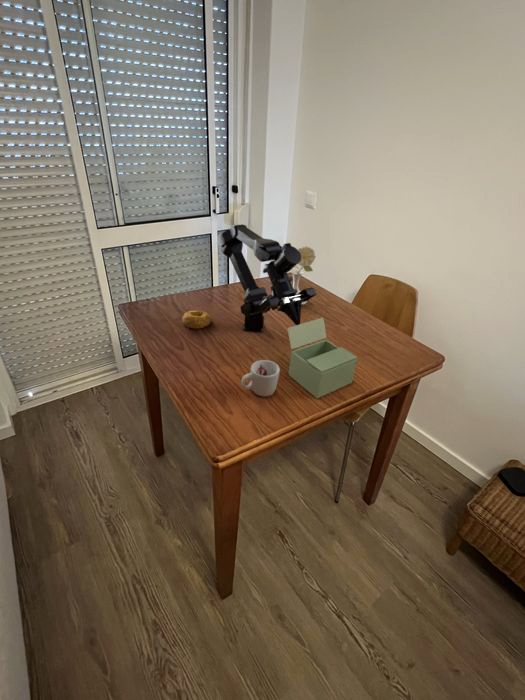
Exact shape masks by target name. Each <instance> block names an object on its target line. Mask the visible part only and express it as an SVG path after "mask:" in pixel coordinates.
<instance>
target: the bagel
mask: <svg viewBox="0 0 525 700" xmlns="http://www.w3.org/2000/svg"><path fill="white" fill-rule="evenodd" d="M181 320H182V323H183V324H184V325H185V326H186V327H187V328H190V329H195V330H197V329H198V330H199V329H204V328H206V327H208V326H209V325H210V324H211V323H212V322H213V317H211V315H209V313H208V312H206V311H205V310H189V311H187V312H185V313H184V314H183V315H182V319H181Z"/></svg>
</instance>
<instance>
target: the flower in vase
mask: <svg viewBox="0 0 525 700" xmlns="http://www.w3.org/2000/svg"><path fill="white" fill-rule="evenodd" d="M297 250H298V251H299V252H300V253H301V261H300V262H299V263H298V264H297V265H298V266H301V268H299V267H298V266H297V265H296V266H295V268H297V269H292V270H290V273H291V275H292V279H293V280H292V286H293V288H294V289H297V291H298V292H297V293H296V294H298V293H299V292H301V291H302V290H300V288H299V282H300V279H301V277H302V275H303V274H304V272H306V273H307V272H308V273H309V272H313V271H314V270H313V268H312V267H311V265H313V263H314V262H315V260H316V253H315V250H314V249H313V248H311V246H310V247H309V246H307V245H306V246H302V247H301V248H299V247H298V249H297ZM302 269H304V271H302ZM291 299H292V298H291ZM307 302H308V301H306V302H302V305H301V306H304V305H306V303H307Z"/></svg>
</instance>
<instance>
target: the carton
mask: <svg viewBox="0 0 525 700" xmlns="http://www.w3.org/2000/svg"><path fill="white" fill-rule="evenodd" d="M357 361H358V356H356V355H355V354H353V353H352V352H350V351H349V350H347V349H346V348H344V347H342V346H340V347H338V346H337V345H335V344H334V343H332V342H331V341H329V340H327V339H322V340H319V341H316V342H313V343H310V344H307V345H304V346H302V347H299V348H296V349H293V350H291V351H290V359H289V366H288V376H289V377H290V378H292V379H293V380H294V381H295V382H296V383H298V384H299V385H300V386H301V387H302V388H304V389H305V390H306V391H307V392H308V393H310V394H311V395H312V396H313V397H314V398H316V399H320V398H322V397H324V396H326V395H329V394H331V393H332V392H334V391H337V390H339V389H341V388H343V387H345V386H348V385H351V384H352V383H353V379H354V374H355V371H356V366H357Z"/></svg>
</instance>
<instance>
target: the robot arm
mask: <svg viewBox="0 0 525 700" xmlns="http://www.w3.org/2000/svg"><path fill="white" fill-rule="evenodd" d="M216 241H217V243H216V244H217V246H218V247H219V249H220V252H221V253H222V254H223V255H224V256H225V257H227V258H228V259H229V260H230V262H231V265H232V266H233V269H234V270H235V274H236V275H237V278H238V280H239V282H240V284H241V286H242V289H243V292H244V296H243V304H242V305H240V312H241V314H243V316H244V326H243V331H247V332H256V333H261V332H262V330H263V329H264V326H265V315H264V314H267V313H269V312H270V311H275V310H276V311H277V312H282V313H283V314H286V316H287V317H288V318H289V319H290V321H292V323H293V324H294V326H296V325H299V324H301V315H302V306H303V305H302V302H306V301H307V302H308V301H310V300H311V299H312V298H314V297H315V296H317V294H318V293H317V292H316V289H315V288H314V287H307V288H303V289H302V290H300V291H301V292H299V293H298V294H296V293H297V292H298V291H297V289H294V288H293V276H289V272H291V271H292V270H293V269H294V267H295V266H297V265H299V264H298V263H299V262H300V261H301V253H300V252H299V251H298V249H297V248H296V247H295V246H292V244H291V242H286V243H284V244H283V245H282V246H281V244H280V243H279V241H277V240H274V239H271V238H264V237H262V236H261V235H260V234H257V233H256V232H254V231H253V230H251V229H250V228H248V227H247V225H246V224H234V225H231V227H229V229H226V230H225V231H224V232H222V233H221V234H219V236H218V237H217V240H216ZM244 245H245V246H247V247H249V248H250V249H251V250H252V251H253V255H254V256H255V258H256V259H257V260H258V261H259V262H261V263H263V262H264V267H263V269H262V273H263V274H267V275H268V278H269V280H270V283H271V285H272V286H270V290H271V294H269V295H268V293H267V291H266V288H265V287H263V286H262V287H259V285H258V284H257V282H256V280H255V278H254V275H253V273H252V271H251V269H250V267H249V265H248V262H247V260H246V258H245V256H244V254H243V247H244ZM265 262H269V263H265ZM295 268H296V267H295ZM291 298H292V299H291ZM307 302H306V303H307Z"/></svg>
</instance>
